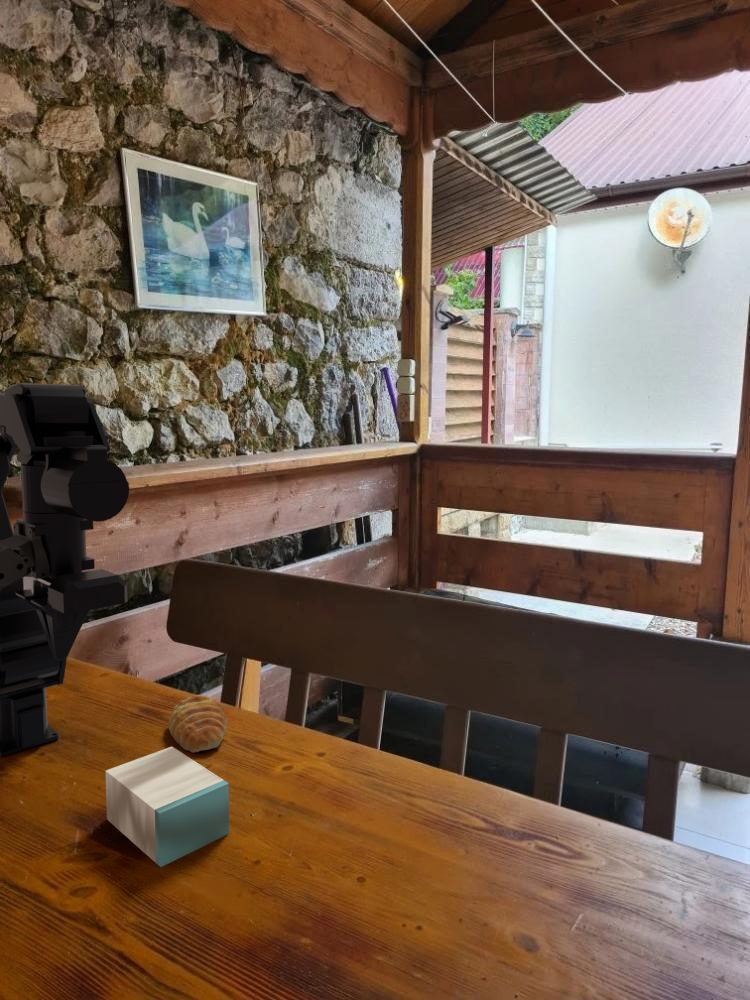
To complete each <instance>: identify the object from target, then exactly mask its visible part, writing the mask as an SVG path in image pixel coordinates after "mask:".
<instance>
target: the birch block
mask: <svg viewBox="0 0 750 1000" xmlns="http://www.w3.org/2000/svg"><path fill="white" fill-rule="evenodd" d="M229 785H230V783H229V782H227V781H226V780H224V779H223V778H221V777H220V776H218V775H216V774H215V773H213V772H212V771H210V770H208V768H205V767H204V766H203V765H202V764H200V763H197V762H196V761H195V760H194V759H192V758H190V757H189V756H187V755H185V753H183V752H182V751H180V750H178V749H177V748H175V747H173V746H169V747H167V748H164V749H161V750H158V751H155V752H152V753H150V754H148V755H147V754H146V755H145V756H141V757H139V758H136V759H134V760H131V761H128V762H125V763H123V764H120V765H117V766H114V767H112V768H109V769H107V770H105V793H106V796H105V797H106V798H105V800H106V801H105V802H106V820H107V821H108V822H109V823H110V824H112V825H113V826H114V827H115V828H116V829H117V830H118V831H119V832H121V834H122V835H124V837H126V838H128V839H129V841H131V843H133V844H134V845H135V846H136V847H137V848H139V849H140V850H141V852H142V853H144V854H145V855H146V856H148V857H149V858H150V859H151V860H152V862H154V863H155V864H156V865H157V866H159V868H162V867H164V866H166V865H168V864H171V863H172V862H175V861H176V860H179V859H180V858H183V857H185V856H187V855H188V854H190V853H193V852H195V851H197V850H199V849H201V848H203V847H205V846H207V845H209V844H211V843H213V842H215V841H216V840H219V839H221V838H223V837H225V836H227V835H229V834H230V786H229Z"/></svg>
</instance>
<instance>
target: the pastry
mask: <svg viewBox="0 0 750 1000" xmlns="http://www.w3.org/2000/svg"><path fill="white" fill-rule="evenodd" d="M228 722H229V721H228V719H227V716H226V715H225V710H224V707H223V706H222V704H221V703H220V702H219V701H216V700H215V701H214V700H213V699H212V698H211V697H210V696H207V695H202V694H195V695H191V696H189V697H187V698H186V699H181V700H180V701H179V702H178V703H177V704H176V705H175V706H174V707H173V709H172V710H171V713H170V717H169V721H168V724H167V727H168V730H169V732H170V736H171V737H172V738H173V739H174V741H175V742H176V743H177V744H178V745H179V746H180V747H181V748H182V749H183V750H184V751H189V752H191V753H193V754H194V753H198V752H200V751H207V750H211V749H217V748H218V747H219V746H220V744H221V743H222V741H223V739H224V736H225V735H226V731H227V729H226V728H227V726H228Z"/></svg>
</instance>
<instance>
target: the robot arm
mask: <svg viewBox="0 0 750 1000" xmlns="http://www.w3.org/2000/svg"><path fill="white" fill-rule="evenodd" d="M0 428H2V429H1V432H0V756H3V757H5V756H8V755H11V754H14V753H18V752H21V751H24V750H26V749H29V748H34V747H37V746H39V745H43V744H45V743H49V742H52V741H56V740H58V739H60V733H59V732H58V731H57V730H55V729H54V728H53V727H51V725H49V724H48V708H47V707H48V704H47V688H50V687H54V686H61V685H63V684H64V679H65V674H66V672H65V671H66V668H67V667H66V666H67V659H68V657H69V655H70V653H71V650H72V648H73V646H74V644H75V642H76V640H77V637H78V635H79V633H80V631H81V629H82V627H83V624H84V623H85V621H86V619H87V617H88V615H89V613H90V611H92V610H99V609H102V608H107V607H113V606H117V605H122V604H123V605H124V604H127V602H129V601H128V581H126V580H125V579H124V578H122V577H121V576H120V575H119V574H116V573H113V572H111V571H108V570H105V569H103V568H100V569H95V559H94V558H93V557H89V556H87V535H86V533H87V532H86V531H89V530H90V531H91V530H94V522H96V523H97V522H98V523H101V522H105V521H108V520H112V519H113V518H114V517H116V516H117V515H119V513H120V512H121V511H122V510H123V509H124V508H125V506H126V504H127V502H128V500H129V494H130V483H129V481H128V480H127V477H126V475H125V473H124V471H123V470H122V469H121V467H119V466H118V465H117V464H116V463H115V462H112V461H110V460H109V459H108V458H109V457H108V454H109V453H110V451H111V446H110V444H109V442H108V440H109V438H110V435H109V433H108V430H107V429H106V428H105V425H104V423H103V422H102V420H101V418H100V416H99V414H98V412H97V409H96V406H95V404H94V401H93V400H92V398H91V397H90V396H87V390H86V388H84V387H83V386H82V385H81V384H59V383H37V382H36V383H35V382H34V383H31V382H28V383H27V382H17V383H15V384H13V385H10V386H8V387H6V388H5V389H4V392H2V391H0ZM16 448H18V449H19V451H18V454H17V455H16V461H17V462H18V463H20V479H21V481H20V482H21V500H22V503H21V504H22V518H17V519H15V522H14V523H13V524H12V522H11V518H10V516H9V512H8V509H7V505H6V501H5V497H4V494H3V490H4V486H5V484H6V482H7V479H8V478H9V477H8V476H9V474H10V472H11V469H12V468H11V462H12V460H13V459H12V458H14V457H13V456H14V454H15V451H16Z"/></svg>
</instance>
